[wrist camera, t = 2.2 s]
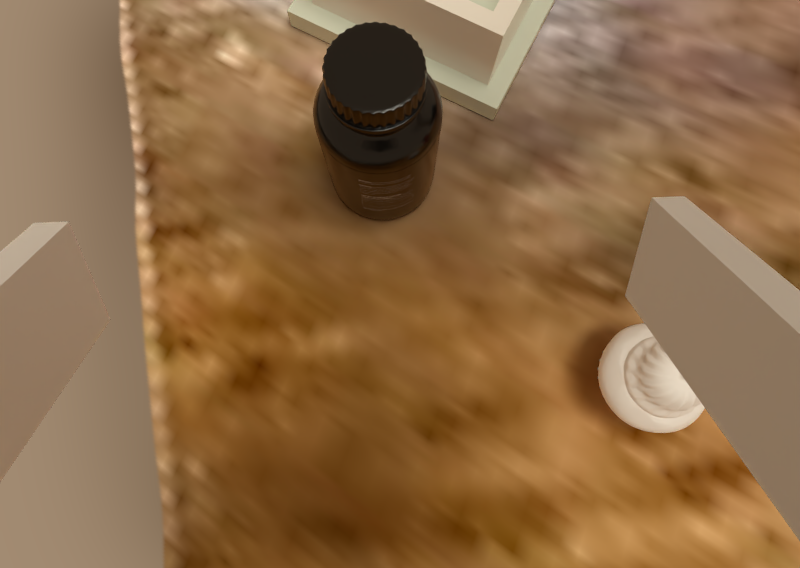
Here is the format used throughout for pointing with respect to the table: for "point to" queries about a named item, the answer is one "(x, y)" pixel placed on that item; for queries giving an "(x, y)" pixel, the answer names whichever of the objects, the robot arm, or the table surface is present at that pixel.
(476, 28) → the well
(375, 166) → the supplement bottle
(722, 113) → the table surface
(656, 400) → the white ribbed round lump
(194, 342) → the table surface
